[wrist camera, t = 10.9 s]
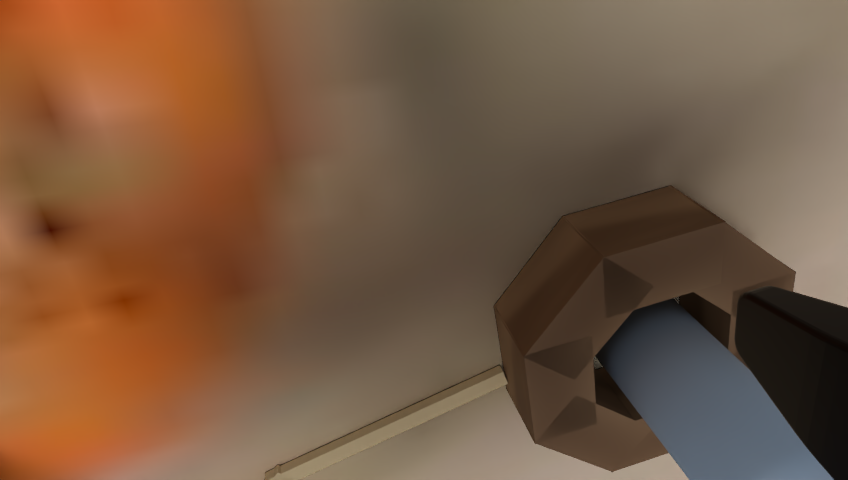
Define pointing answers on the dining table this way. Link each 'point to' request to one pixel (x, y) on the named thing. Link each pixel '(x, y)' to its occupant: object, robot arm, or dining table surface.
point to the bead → (616, 313)
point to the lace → (389, 426)
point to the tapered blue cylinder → (703, 400)
